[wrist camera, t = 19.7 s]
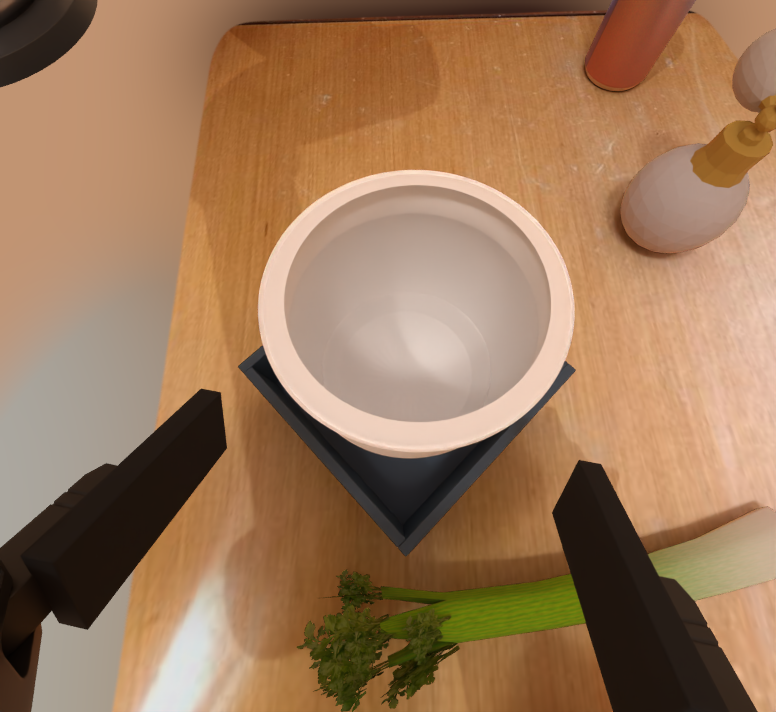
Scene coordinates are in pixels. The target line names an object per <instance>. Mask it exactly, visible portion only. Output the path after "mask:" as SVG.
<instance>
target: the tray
mask: <svg viewBox="0 0 776 712" xmlns="http://www.w3.org/2000/svg"><path fill="white" fill-rule="evenodd" d="M238 368H239V369H240V370H241V371H242V372H243V373H244V374H245V375H246V377H247V378H248V379H249V380H250V381H251V382H252V383H253V385H254V386H255V387H256V388H257V389H258V390H259V391H260V392H261V394H262V395H263V396H264V397H265V398H266V399H267V400H268V401H269V403H270V404H271V405H272V406H273V407H274V408H275V409H276V411H277V412H278V413H279V414H280V415H281V416H282V417H283V418H284V420H285V421H286V422H287V423H288V424H289V425H290V426H291V428H292V429H293V430H294V431H295V432H296V433H297V434H298V435H299V437H300V438H301V439H302V440H303V441H304V442H305V443H306V445H307V446H308V447H309V448H310V449H311V450H312V451H313V452H314V454H315V455H316V456H317V457H318V458H319V459H320V460H321V461H322V463H323V464H324V465H325V466H326V467H327V468H328V469H329V471H330V472H331V473H332V474H333V475H334V476H335V477H336V478H337V480H338V481H339V482H340V483H341V484H342V485H343V486H344V488H345V489H346V490H347V491H348V492H349V493H350V494H351V495H352V497H353V498H354V499H355V500H356V501H357V502H358V503H359V504H360V506H361V507H362V508H363V509H364V510H365V511H366V512H367V514H368V515H369V516H370V517H371V518H372V519H373V520H374V521H375V523H376V524H377V525H378V526H379V527H380V528H381V529H382V531H383V532H384V533H385V534H386V535H387V536H388V537H389V538H390V540H391V541H392V542H393V543H394V544H395V545H396V546H397V547H398V549H399V550H400V551H401V552H402V553H403V554H404V555H405V556H407V555H408V554H409V553H410V552H411V551H412V550H413V549H414V548H415V547H416V546H417V544H418V543H419V542H420V541H421V540H422V539H423V538H424V537H425V536H426V535H427V533H428V532H429V531H430V530H431V529H432V528H433V527H434V526H435V525H436V524H437V522H438V521H439V520H440V519H441V518H442V517H443V516H444V515H445V514H446V513H447V511H448V510H449V509H450V508H451V507H452V506H453V505H454V504H455V503H456V502H457V500H458V499H459V498H460V497H461V496H462V495H463V494H464V493H465V492H466V491H467V489H468V488H469V487H470V486H471V485H472V484H473V483H474V482H475V481H476V480H477V479H478V477H479V476H480V475H481V474H482V473H483V472H484V471H485V470H486V469H487V468H488V466H489V465H490V464H491V463H492V462H493V461H494V460H495V459H496V458H497V457H498V455H499V454H500V453H501V452H502V451H503V450H504V449H505V448H506V447H507V446H508V444H509V443H510V442H511V441H512V440H513V439H514V438H515V437H516V436H517V435H518V433H519V432H520V431H521V430H522V429H523V428H524V427H525V426H526V425H527V424H528V422H529V421H530V420H531V419H532V418H533V417H534V416H535V415H536V414H537V413H538V411H539V410H540V409H541V408H542V407H543V406H544V405H545V404H546V403H547V402H548V400H549V399H550V398H551V397H552V396H553V395H554V394H555V393H556V392H557V391H558V389H559V388H560V387H561V386H562V385H563V384H564V383H565V382H566V381H567V380H568V378H569V377H570V376H571V375H572V374H573V373H574V372H575V371H576V370H575V369H574V368H573V367H572V366H571V365H569V364H567V362H566V361H564V364H563V366H562V368H561V370H560V372H559V374H558V376H557V377H556V379H555V381H554V382H553V384H552V385H551V387H550V388H549V389H548V391H547V392H546V393H545V395H544V396H543V397H542V398H541V399H540V400H539V401H538V403H537V404H536V405H535V406H534V407H533V408H532V409H530V410H529V411H528V412H527V413H526V414H525V415H524V416H522V417H521V418H520V419H518V420H517V421H516V422H514V423H513V424H511V425H510V426H508V427H507V428H505V429H503V430H502V431H500V432H498V433H496V434H494V435H492V436H490V437H488V438H486V439H484V440H482V441H479V442H477V443H474V444H471V445H467V446H464V447H460V448H457V449H455V450H452V451H449V452H446V453H443V454H440V455H435V456H430V457H424V458H395V457H389V456H384V455H380V454H376V453H373V452H370V451H368V450H365V449H363V448H361V447H358V446H356V445H355V444H353V443H351V442H349V441H348V440H346V439H345V438H343V437H342V436H340V435H339V434H338V433H337V432H335V431H333V430H331V429H330V428H328V427H326V426H325V425H323V424H322V423H320V422H319V421H317V420H316V419H315V418H313V417H312V416H311V415H310V414H308V413H307V412H306V411H305V410H304V409H303V408H302V407H301V406H300V405H299V404H298V403H297V402H296V401H295V400H294V399H293V398H292V397H291V396H290V395H289V393H288V392H287V391H286V390H285V388H284V387H283V385H282V384H281V383H280V381H279V379H278V378H277V376H276V374H275V373H274V371H273V369H272V367H271V365H270V363H269V360H268V358H267V356H266V353H265V350H264V347H263V346H261V347H260V348H259V349H258V350H257V351H255V352H254V353H253V354H252V355H251V356H250V357H248V358H247V359H246V360H245V361H244V362H242V363H241V364H240V365H239V366H238Z"/></svg>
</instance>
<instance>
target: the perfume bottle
mask: <svg viewBox="0 0 776 712" xmlns="http://www.w3.org/2000/svg"><path fill="white" fill-rule="evenodd" d="M733 91H734V94H735V97H736V99H737V100H738V101H739V103H740V104H741V105H742V106H743V107H744V108H746V109H748V110H750V111H752V112H760V113H759V114H758V115H757V117H756V118H755V123H753V122H750V121H735V122H732V123H730V124H728V125H727V126H726V127H725V128H724V129H723V130H722V131H721V132H720V133H719V134H718V135H717V136H716V137H715V138H714V139H713V140H712V141H711V142H710V143H709V144H699V143H698V144H692V145H687V146H681V147H677V148H674V149H672V150H670V151H668V152H666V153H663V154H661V155H659V156H657V157H656V158H654V159H653V160H652V161H650V162H649V163H647V164H646V165H645V166H644V167H643V168H642V169H641V170H640V171H639V172H638V173H637V174H636V175H635V176H634V177H633V179H632V180H631V182H630V184H629V186H628V187H627V189H626V191H625V193H624V195H623V200H622V204H621V220H622V224H623V226H624V228H625V231H626V233H627V235H628V236H629V237H630V238H631V239H633V240H634V241H635V242H636V243H637V244H638V245H639V246H641V247H644V248H646V249H648V250H651V251H654V252H662V253H676V252H684V251H688V250H692V249H695V248H698V247H701V246H703V245H705V244H707V243H709V242H711V241H712V240H714V239H716V238H718V237H720V236H721V235H722V234H723V233H724V232H725V231H726V230H727V229H728V228H729V227H730V226H732V225H733V224H734V223H735V222H736V220H737V218H738V217H739V215H740V213H741V212H742V210H743V208H744V207H745V205H746V202H747V198H748V194H749V187H750V184H749V176H748V173H747V172H748V170H749V169H750V168H752V167H753V166H754V165H755V164H756V163H758V162H759V161H760V160H761V159H762V158H764V157H765V156H766V155H767V154H769V153H770V150H771V148H772V146H773V142H772V139H771V136H770V134H769V133H768V132H770V131H772V130H774V129H776V29H773V30H771V31H769V32H767V33H765V34H764V35H762V36H761V37H759V38H758V39H757V40H755V41H754V42H753V43H752V44H751V45H750V46H749V47H748V48H747V49H746V51H745V52H744V53H743V54H742V56H741V57H740V59H739V61H738V63H737V65H736V67H735V70H734V74H733Z"/></svg>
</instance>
